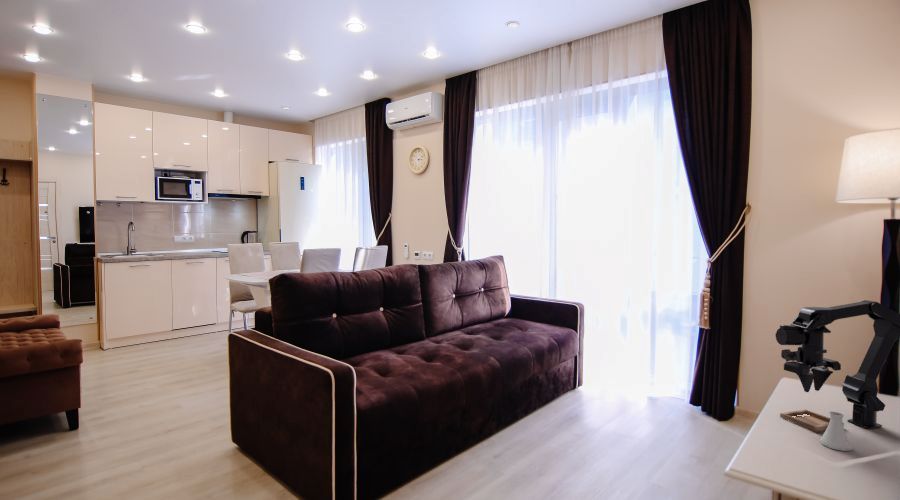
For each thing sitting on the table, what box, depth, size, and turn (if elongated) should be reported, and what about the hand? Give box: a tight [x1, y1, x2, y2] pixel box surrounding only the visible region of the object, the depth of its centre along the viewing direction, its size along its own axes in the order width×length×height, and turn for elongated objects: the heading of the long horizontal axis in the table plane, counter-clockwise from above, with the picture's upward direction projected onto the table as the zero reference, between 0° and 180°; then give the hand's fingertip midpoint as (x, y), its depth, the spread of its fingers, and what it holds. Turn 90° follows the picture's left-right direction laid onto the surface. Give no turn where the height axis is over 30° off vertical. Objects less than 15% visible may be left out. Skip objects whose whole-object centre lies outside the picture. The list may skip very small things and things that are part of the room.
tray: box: [779, 409, 844, 434], centre depth 151 cm, size 12×12×2 cm
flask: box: [819, 411, 853, 452], centre depth 135 cm, size 7×7×10 cm
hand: (811, 391), depth 151 cm, fingers open, 4 cm apart
